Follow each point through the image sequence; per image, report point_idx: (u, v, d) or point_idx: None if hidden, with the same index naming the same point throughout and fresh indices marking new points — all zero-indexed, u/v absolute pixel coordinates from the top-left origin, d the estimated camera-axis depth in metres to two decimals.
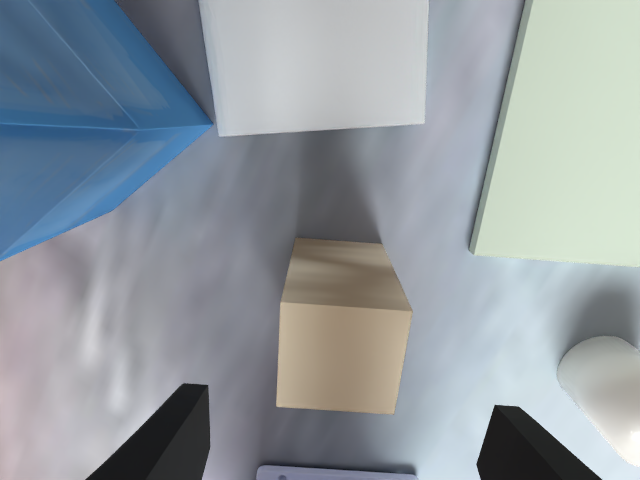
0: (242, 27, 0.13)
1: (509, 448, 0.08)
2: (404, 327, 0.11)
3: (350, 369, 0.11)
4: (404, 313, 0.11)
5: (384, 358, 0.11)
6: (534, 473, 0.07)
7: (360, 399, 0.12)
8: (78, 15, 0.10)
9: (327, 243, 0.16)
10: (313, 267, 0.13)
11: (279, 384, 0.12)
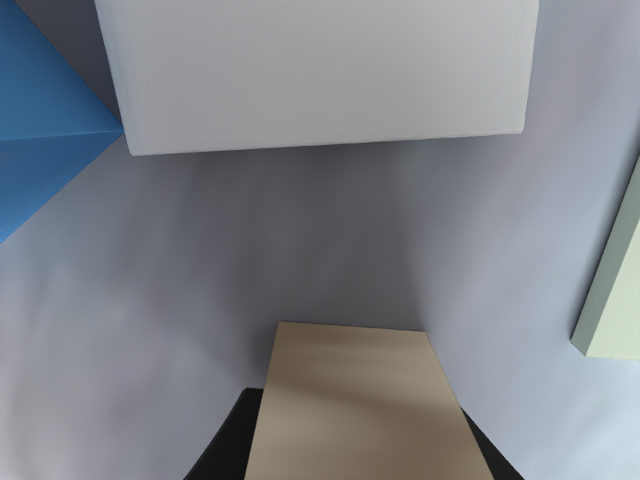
0: None
1: None
2: None
3: None
4: None
5: None
6: None
7: None
8: None
9: (333, 336, 0.09)
10: (308, 420, 0.07)
11: None
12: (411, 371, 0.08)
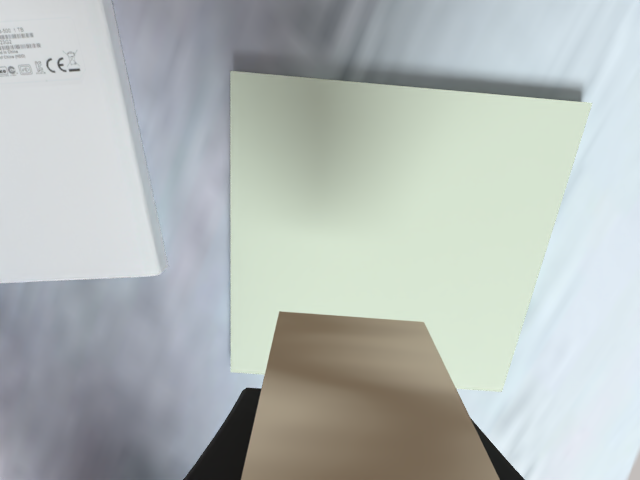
0: None
1: None
2: None
3: None
4: None
5: None
6: None
7: None
8: None
9: (332, 325, 0.09)
10: (307, 404, 0.07)
11: None
12: (410, 359, 0.08)
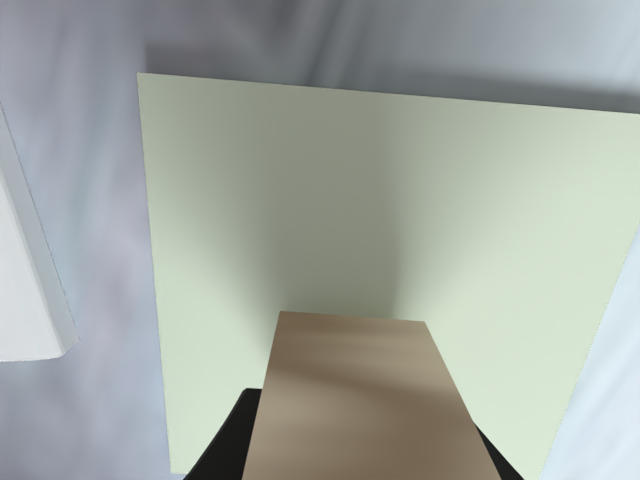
0: None
1: None
2: None
3: None
4: None
5: None
6: None
7: None
8: None
9: (333, 325, 0.09)
10: (308, 403, 0.07)
11: None
12: (411, 358, 0.08)
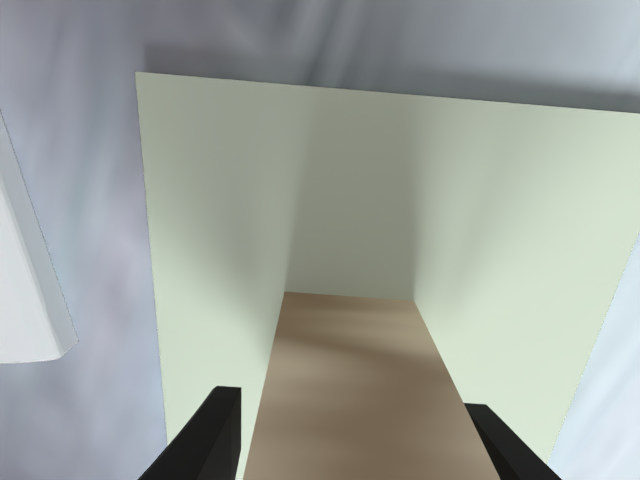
0: None
1: None
2: None
3: None
4: None
5: None
6: None
7: None
8: None
9: (332, 303, 0.10)
10: (311, 363, 0.08)
11: None
12: (400, 330, 0.09)
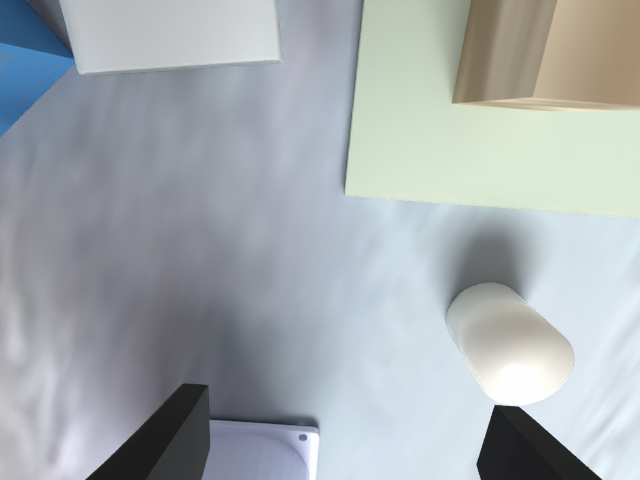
0: None
1: (509, 448, 0.08)
2: None
3: None
4: None
5: None
6: (534, 473, 0.07)
7: None
8: None
9: None
10: None
11: (546, 56, 0.09)
12: None
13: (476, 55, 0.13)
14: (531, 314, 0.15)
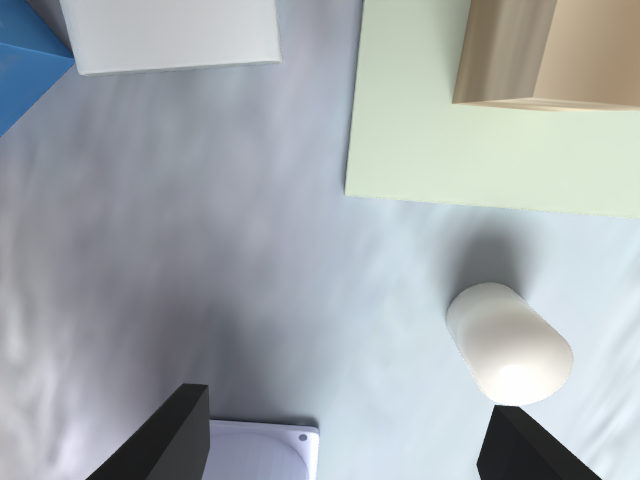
0: None
1: (509, 448, 0.08)
2: None
3: None
4: None
5: None
6: (534, 473, 0.07)
7: None
8: None
9: None
10: None
11: (546, 56, 0.09)
12: None
13: (476, 55, 0.13)
14: (530, 314, 0.15)
